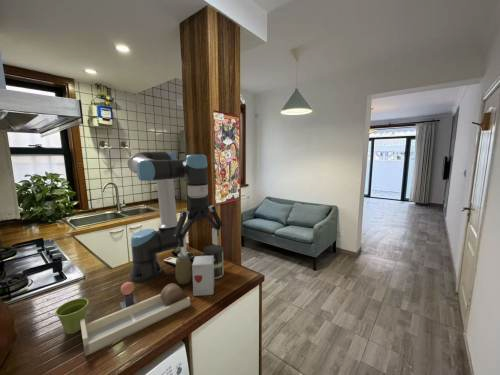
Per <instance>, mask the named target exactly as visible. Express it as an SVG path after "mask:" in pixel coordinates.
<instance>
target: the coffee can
mask: <svg viewBox="0 0 500 375" xmlns="http://www.w3.org/2000/svg"><path fill="white" fill-rule="evenodd" d="M202 251H203V256H214V280H217V279H220V278H222V277H223V276H224V273H225V272H224V247H223V246H222V245H214V244H211V245H207V246H205V247H203V250H202Z"/></svg>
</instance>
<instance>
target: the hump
mask: <svg viewBox="0 0 500 375" xmlns="http://www.w3.org/2000/svg"><path fill="white" fill-rule="evenodd" d="M160 294H161V300H162V301H163V302H164V304H165V305H166V306H169V305H172V304H174V303H176V302H178V301H181V300H183V299H185V298H186V295H185V292H184V291H183V289H182V288H181V287H180V286H179V285H178V283H169V284H167V285H165V286H164V287H163V289H162V290H161V292H160Z"/></svg>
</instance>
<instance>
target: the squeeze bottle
mask: <svg viewBox="0 0 500 375" xmlns="http://www.w3.org/2000/svg"><path fill="white" fill-rule="evenodd" d="M188 255H189V254H188V253H187V255H186V256H184V255H183V254H182V253H181V249H179V253H178V254H177V258H176V259H175V271H174V272H175V275H174V276H175V279H176V281H177V284H179V285H186V284H188V283H190V282H191V279H192V277H193V273H192V264H191V259H190V257H189V256H188Z"/></svg>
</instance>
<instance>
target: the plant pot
mask: <svg viewBox="0 0 500 375" xmlns="http://www.w3.org/2000/svg"><path fill="white" fill-rule="evenodd" d="M89 302H90V301H89V300H88V298H85V297H81V298H75V299H71V300H69V301H67V302H64V303H63V304H61V305H60V306H58V308H57V309H56V310H55V311H54V312H55V314H54V315H55V316H57V318H58V319H59V322H60V323H61V326H62V328H63V331H64V333H65V334H66V335H71V334H72V335H73V334H75V333H76V334H77V333H78V332H79V331H81V324H80V320H81V319H84V320H85V324H87V308H88V305H89Z"/></svg>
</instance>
